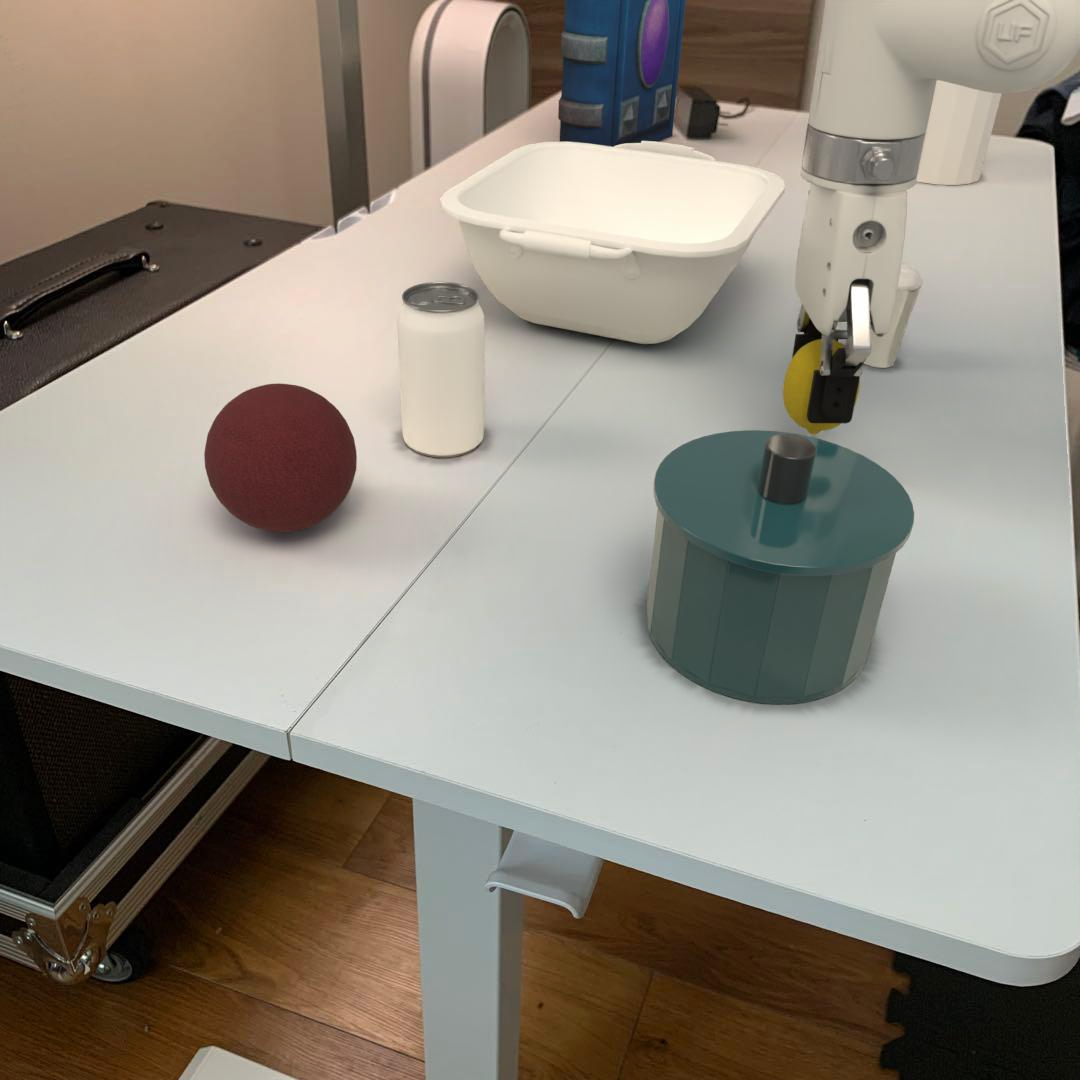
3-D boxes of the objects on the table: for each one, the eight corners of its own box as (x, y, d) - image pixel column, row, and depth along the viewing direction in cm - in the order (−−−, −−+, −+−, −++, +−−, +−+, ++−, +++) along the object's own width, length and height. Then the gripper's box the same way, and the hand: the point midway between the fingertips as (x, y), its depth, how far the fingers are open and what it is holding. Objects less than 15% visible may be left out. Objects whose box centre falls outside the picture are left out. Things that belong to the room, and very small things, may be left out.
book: (601, 171, 148) (618, -80, 131) (548, 160, 152) (558, -85, 135) (680, 138, 165) (704, -89, 148) (630, 128, 169) (648, -93, 152)
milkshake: (841, 347, 102) (862, 245, 96) (898, 352, 102) (923, 250, 96) (845, 368, 98) (868, 262, 93) (905, 373, 98) (931, 268, 92)
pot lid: (871, 449, 68) (885, 389, 65) (944, 588, 56) (965, 521, 53) (641, 443, 67) (647, 383, 65) (666, 582, 55) (674, 515, 53)
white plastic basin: (541, 238, 125) (545, 125, 118) (782, 278, 117) (803, 159, 109) (405, 350, 99) (399, 212, 91) (704, 412, 90) (724, 266, 83)
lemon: (762, 434, 82) (776, 337, 78) (800, 410, 86) (816, 316, 81) (826, 459, 79) (844, 359, 75) (863, 433, 83) (882, 336, 78)
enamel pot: (838, 566, 72) (867, 444, 67) (894, 706, 61) (935, 573, 56) (638, 562, 72) (651, 439, 67) (658, 702, 61) (676, 567, 55)
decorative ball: (276, 580, 69) (258, 445, 63) (186, 521, 74) (161, 392, 69) (390, 518, 75) (383, 390, 70) (300, 468, 81) (286, 345, 75)
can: (408, 418, 88) (402, 277, 81) (486, 421, 88) (487, 281, 81) (397, 457, 82) (389, 311, 76) (480, 461, 82) (481, 315, 76)
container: (870, 172, 153) (901, 18, 141) (902, 153, 162) (933, 7, 150) (964, 191, 146) (1005, 31, 135) (992, 170, 156) (1032, 19, 144)
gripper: (960, 194, 64) (900, 458, 74) (882, 125, 78) (840, 354, 88) (835, 193, 64) (792, 458, 74) (779, 124, 78) (749, 354, 88)
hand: (818, 399), depth 81 cm, fingers closed on lemon, 5 cm apart
